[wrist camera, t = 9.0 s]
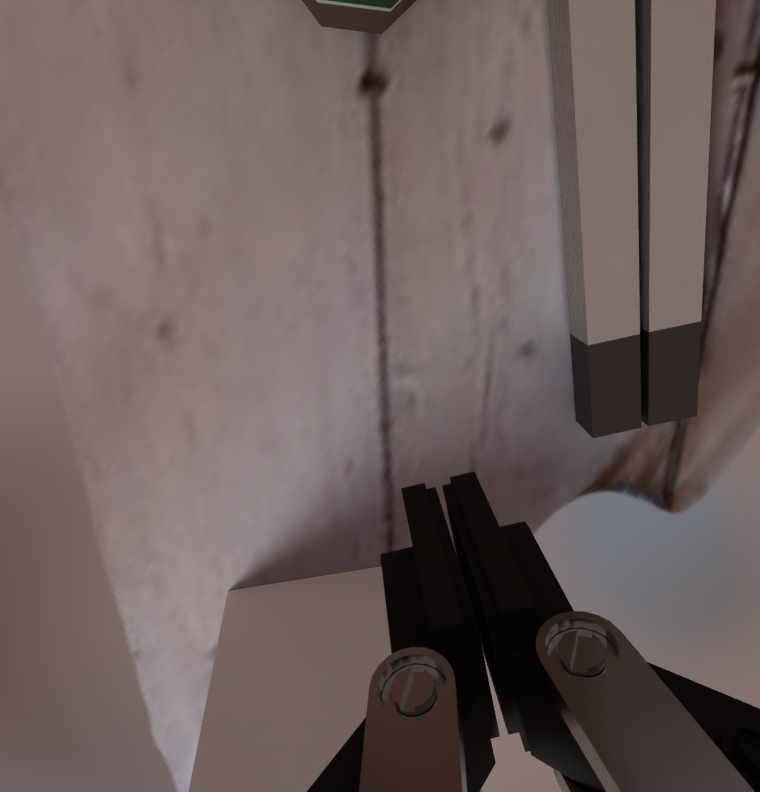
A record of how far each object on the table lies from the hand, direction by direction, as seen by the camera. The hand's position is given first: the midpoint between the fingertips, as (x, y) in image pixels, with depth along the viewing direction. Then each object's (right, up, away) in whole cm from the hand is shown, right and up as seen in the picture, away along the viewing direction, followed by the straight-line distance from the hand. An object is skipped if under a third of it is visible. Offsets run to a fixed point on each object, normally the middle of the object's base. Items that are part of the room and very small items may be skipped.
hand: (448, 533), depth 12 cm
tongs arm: (+11, +14, +18) cm, 25 cm away
